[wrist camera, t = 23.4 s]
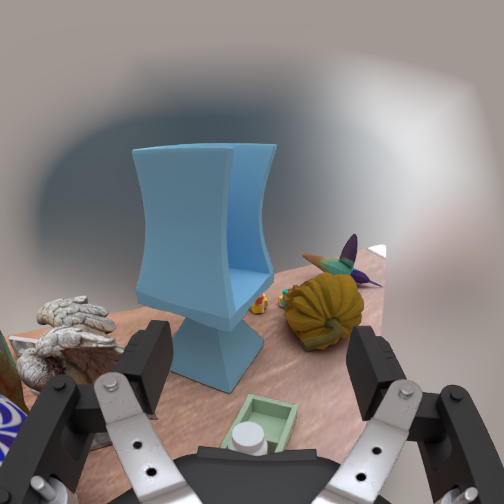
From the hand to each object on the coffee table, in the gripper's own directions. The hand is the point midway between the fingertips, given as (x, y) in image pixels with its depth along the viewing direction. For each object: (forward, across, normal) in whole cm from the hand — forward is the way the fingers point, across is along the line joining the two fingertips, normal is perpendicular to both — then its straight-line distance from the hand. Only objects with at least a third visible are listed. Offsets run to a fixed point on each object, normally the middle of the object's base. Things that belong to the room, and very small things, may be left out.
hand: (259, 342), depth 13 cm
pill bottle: (+9, +1, +27) cm, 29 cm away
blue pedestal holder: (+31, +8, +28) cm, 42 cm away
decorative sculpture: (+66, -17, +25) cm, 73 cm away
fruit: (+46, -9, +24) cm, 53 cm away
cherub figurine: (+16, +25, +28) cm, 41 cm away
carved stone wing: (+24, +41, +26) cm, 54 cm away
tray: (+12, 0, +28) cm, 30 cm away
